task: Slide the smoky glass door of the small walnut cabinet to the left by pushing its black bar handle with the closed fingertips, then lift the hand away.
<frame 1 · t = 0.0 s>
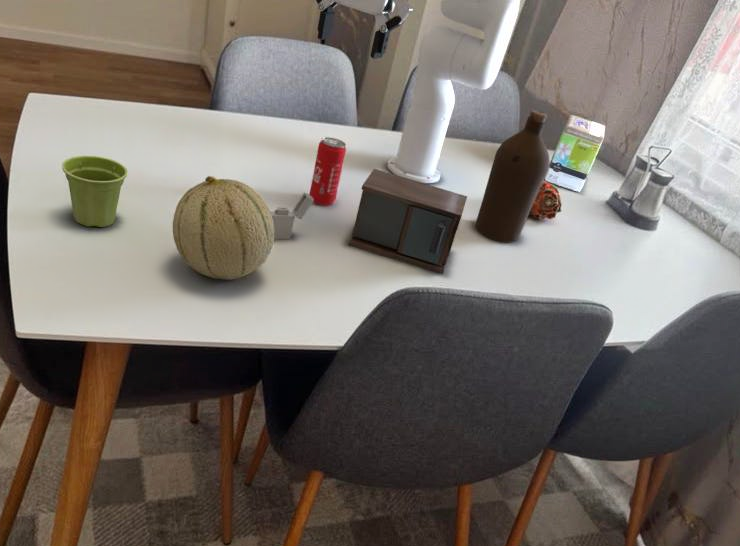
hand: (349, 47, 112), 31 cm above the table, tool pointing down, fingers open, 9 cm apart
glass door: (424, 239, 121), point 6 cm above the table, slide at 0.0 cm
beverage can: (321, 202, 139), on the table
lighter: (285, 237, 123), on the table
plant pot: (94, 220, 113), on the table
olive oil: (496, 232, 147), on the table
tea box: (564, 180, 187), on the table
cantaloupe: (218, 273, 109), on the table
cabinet: (401, 246, 130), on the table
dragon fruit: (533, 215, 160), on the table
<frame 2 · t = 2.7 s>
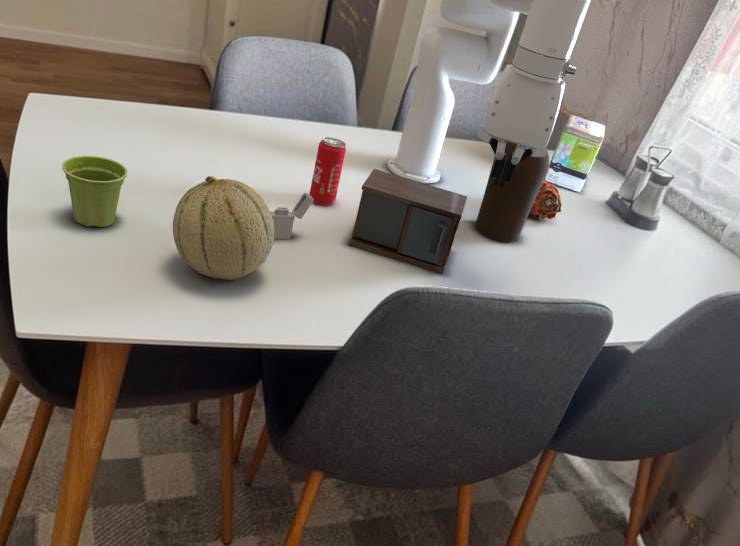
hand: (498, 183, 112), 19 cm above the table, tool pointing down, fingers closed
nothing on the table moved.
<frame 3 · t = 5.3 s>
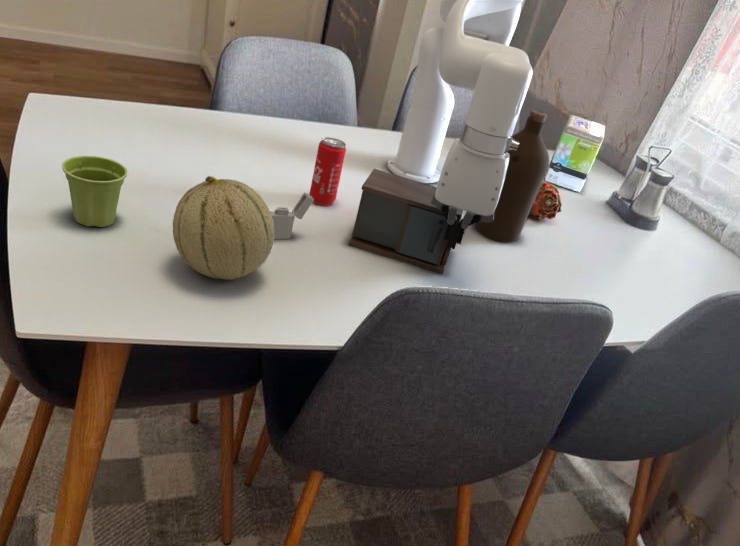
hand: (450, 245, 120), 7 cm above the table, tool pointing down, fingers closed
glass door: (422, 238, 121), point 6 cm above the table, slide at 0.4 cm, touching gripper
everything else where it was.
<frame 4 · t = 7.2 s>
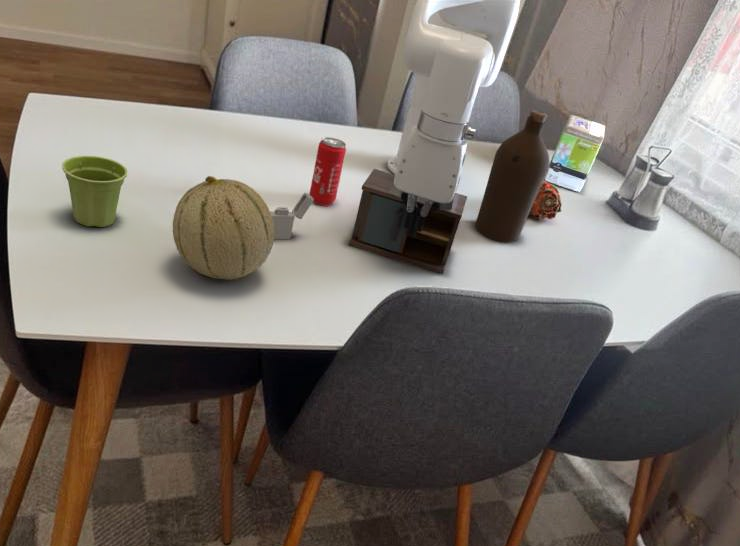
hand: (411, 232, 120), 7 cm above the table, tool pointing down, fingers closed
glass door: (384, 226, 122), point 6 cm above the table, slide at 7.3 cm, touching gripper
everything else where it was.
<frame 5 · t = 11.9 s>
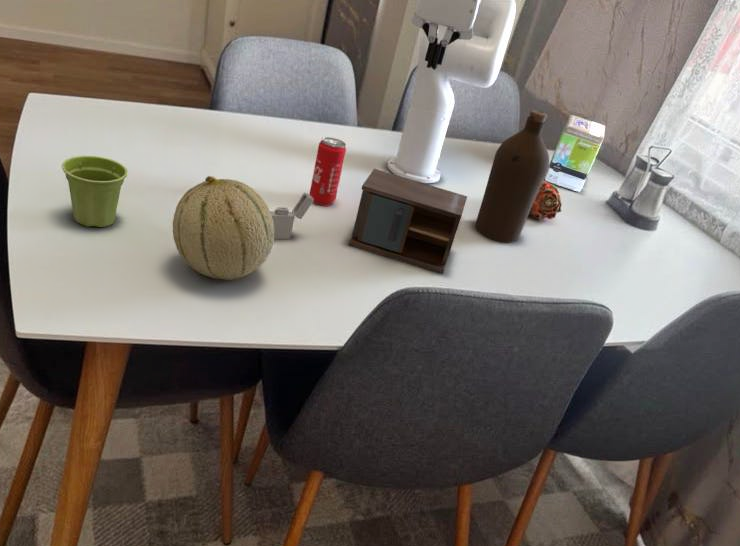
hand: (431, 67, 124), 29 cm above the table, tool pointing down, fingers closed
glass door: (383, 226, 122), point 6 cm above the table, slide at 7.4 cm
everything else where it was.
at the end: glass door slide at 7.4 cm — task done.
